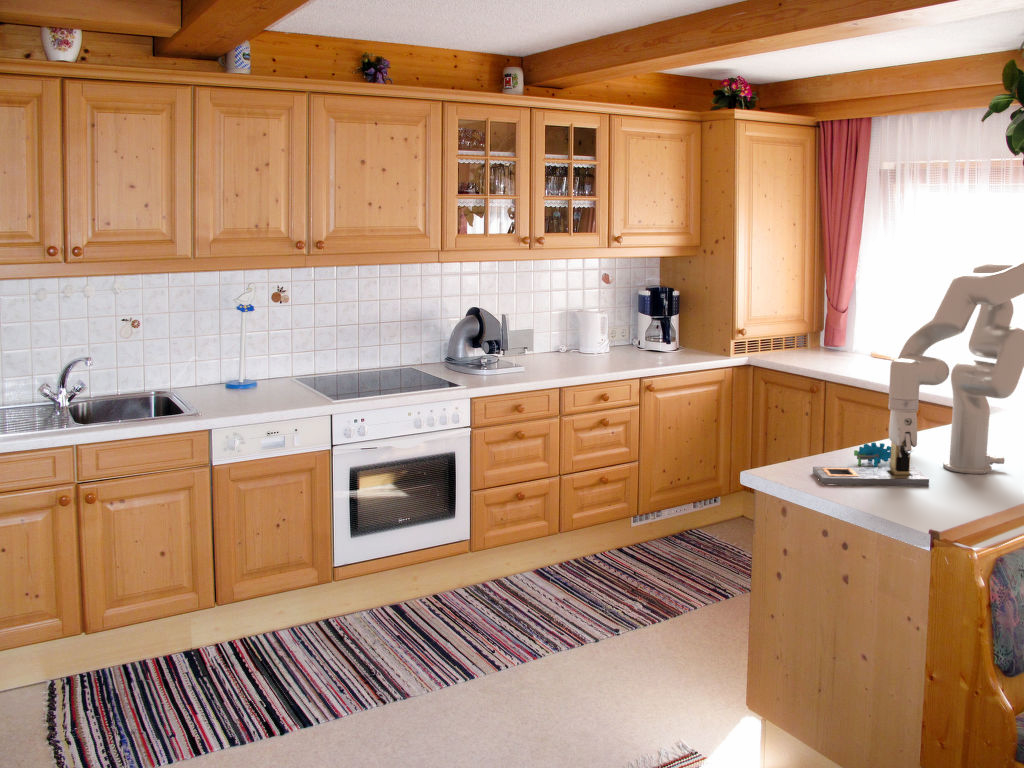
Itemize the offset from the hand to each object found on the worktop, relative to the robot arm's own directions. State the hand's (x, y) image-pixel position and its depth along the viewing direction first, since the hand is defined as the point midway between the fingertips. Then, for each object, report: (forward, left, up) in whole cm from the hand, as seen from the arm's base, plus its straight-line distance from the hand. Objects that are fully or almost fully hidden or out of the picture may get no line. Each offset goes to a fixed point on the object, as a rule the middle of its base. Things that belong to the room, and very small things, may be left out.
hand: (899, 468), depth 256 cm
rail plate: (+8, 0, -3) cm, 9 cm away
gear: (+2, -17, -4) cm, 17 cm away
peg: (0, 0, -3) cm, 3 cm away
